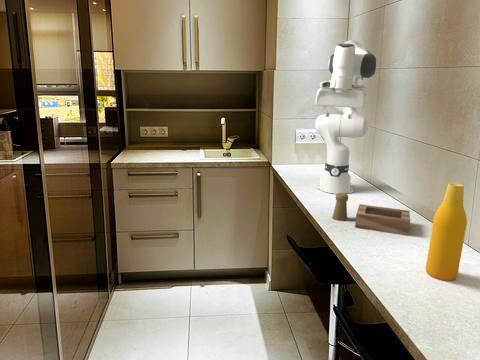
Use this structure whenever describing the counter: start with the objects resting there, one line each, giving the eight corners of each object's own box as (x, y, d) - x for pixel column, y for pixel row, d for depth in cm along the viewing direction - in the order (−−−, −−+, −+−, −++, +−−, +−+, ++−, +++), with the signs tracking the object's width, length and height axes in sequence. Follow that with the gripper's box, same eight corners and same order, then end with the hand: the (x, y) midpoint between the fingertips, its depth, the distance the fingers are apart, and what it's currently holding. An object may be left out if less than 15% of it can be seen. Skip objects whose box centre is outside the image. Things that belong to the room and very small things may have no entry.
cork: (337, 215, 190) (340, 190, 187) (349, 218, 186) (352, 193, 183) (329, 218, 186) (332, 192, 183) (341, 221, 182) (344, 196, 179)
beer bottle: (454, 284, 132) (471, 190, 125) (422, 275, 137) (436, 184, 129) (459, 273, 139) (475, 184, 132) (428, 265, 144) (442, 178, 137)
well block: (358, 216, 190) (359, 204, 188) (407, 223, 183) (409, 210, 182) (354, 227, 176) (356, 214, 174) (408, 235, 170) (410, 222, 168)
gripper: (368, 85, 182) (364, 119, 185) (318, 83, 189) (315, 115, 192) (367, 85, 176) (363, 120, 180) (316, 83, 183) (313, 116, 186)
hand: (338, 118), depth 186 cm, fingers open, 8 cm apart
